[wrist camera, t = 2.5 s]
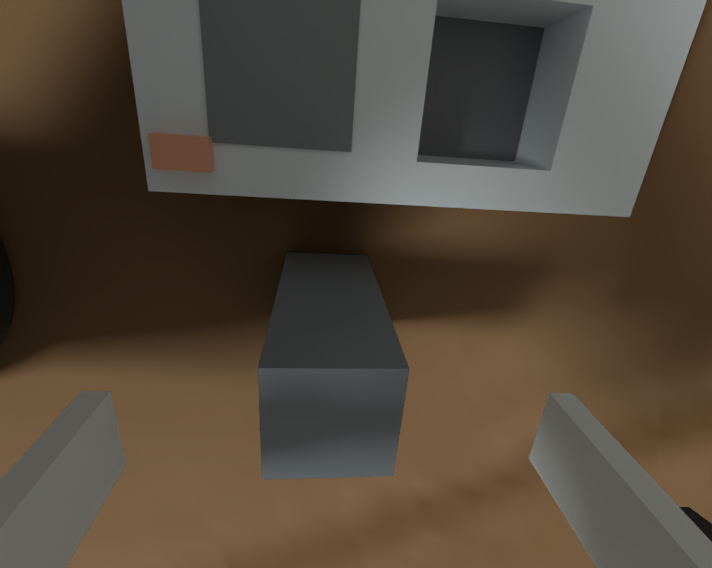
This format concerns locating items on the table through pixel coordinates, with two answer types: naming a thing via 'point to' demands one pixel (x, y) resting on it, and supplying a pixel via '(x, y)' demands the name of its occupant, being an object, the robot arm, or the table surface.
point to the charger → (330, 373)
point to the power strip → (408, 98)
